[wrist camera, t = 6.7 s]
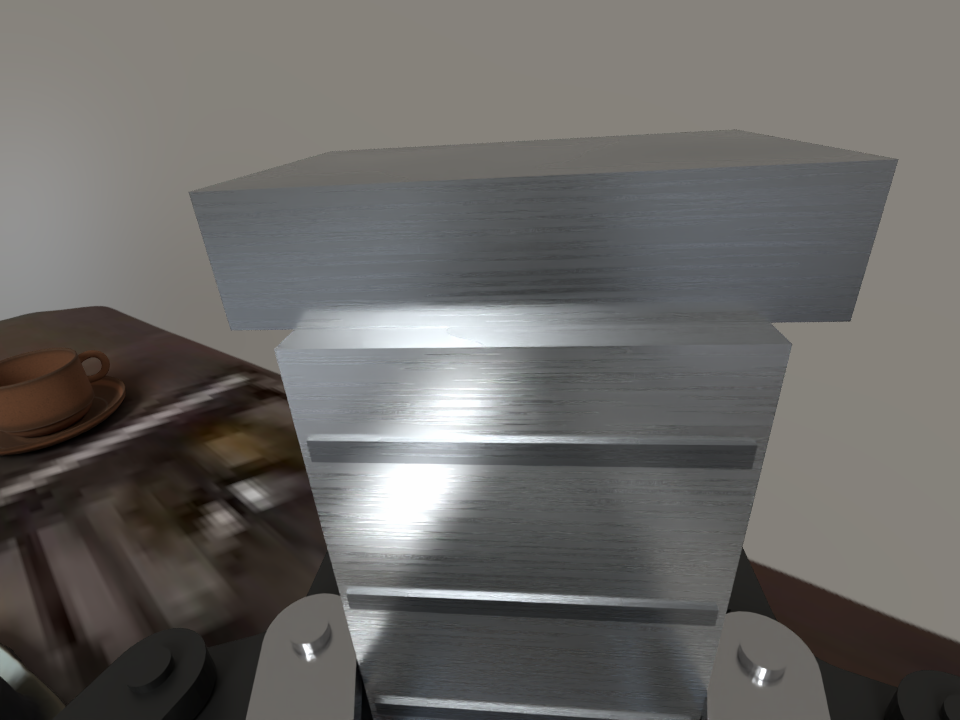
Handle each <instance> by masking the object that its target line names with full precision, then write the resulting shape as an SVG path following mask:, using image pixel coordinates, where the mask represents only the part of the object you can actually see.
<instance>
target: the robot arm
mask: <svg viewBox="0 0 960 720" xmlns="http://www.w3.org/2000/svg"><path fill="white" fill-rule="evenodd" d="M52 720H373V716H372V712H371V708H370V705H369V701H368V697H367V693H366V690H365V686H364V682H363V679H362V675H361V671H360V667H359V664H358V660H357V656H356V652H355V649H354V645H353V641H352V638H351V634H350V630H349V626H348V623H347V619H346V615H345V611H344V608H343V604H342V600H341V597H340V593H339V589H338V585H337V582H336V578H335V574H334V570H333V567H332V563H331V559H330V556H329V552H328V550H327V552H326V555H325V557H324V559H323V561H322V563H321V566H320V568H319V570H318V572H317V575H316V577H315V579H314V581H313V583H312V586H311V588H310V590H309V592H308V594H307V596H306V597H305V598H302V599H300V600H298V601H296V602H294V603H293V604H291V605H290V606H288V607H287V608H286V609H284V610H283V611H282V612H281V613H280V614H279V615H278V616H277V617H276V618H275V619H274V621H273V622H272V623H271V625H270V626H269V628H268V630H267V631H266V632H263V633H261V634H258V635H255V636H252V637H248V638H244V639H240V640H236V641H232V642H228V643H225V644H221V645H217V646H213V647H209V648H207V647H206V645H205V643H204V641H203V639H202V637H201V636H200V635H199V634H198V633H196V632H195V631H193V630H190V629H185V628H173V629H168V630H164V631H161V632H158V633H155V634H153V635H150V636H148V637H146V638H144V639H143V640H141V641H139V642H138V643H136V644H135V645H133V646H132V647H130V648H129V649H128V650H127V651H126V652H124V653H123V654H122V655H121V656H120V657H119V658H118V659H116V660H115V661H114V662H113V663H112V664H111V665H110V666H109V667H108V668H107V669H106V670H105V671H104V672H103V673H101V674H100V675H99V676H98V677H97V678H96V679H95V680H94V681H93V682H92V683H91V684H90V685H89V686H87V687H86V688H85V689H84V690H83V691H82V692H81V693H80V694H79V695H78V696H77V697H76V698H75V699H73V700H72V701H71V702H70V703H69V704H68V705H67V706H66V707H65V708H64V709H63V710H62V711H61V712H60V713H58V714H57V715H56V716H55V717H54V718H53V719H52ZM700 720H960V677H958V676H956V675H953V674H949V673H945V672H940V671H934V670H921V671H916V672H913V673H911V674H908V675H907V676H906V677H904V678H903V679H902V681H901V682H900V684H899V686H898V688H897V687H894V686H891V685H888V684H885V683H882V682H879V681H876V680H873V679H870V678H867V677H864V676H861V675H858V674H855V673H852V672H849V671H846V670H843V669H840V668H838V667H835V666H833V665H830V664H828V663H826V662H824V661H822V660H820V659H819V658H817V657H815V656H814V655H813V654H812V652H811V651H810V649H809V648H808V647H807V645H806V644H805V643H804V642H803V641H802V640H801V639H800V638H799V637H798V636H797V635H796V634H795V633H794V632H792V631H791V630H790V629H788V628H787V627H785V626H784V625H782V624H781V623H779V622H777V620H776V618H775V616H774V614H773V612H772V610H771V608H770V606H769V604H768V602H767V599H766V597H765V595H764V593H763V591H762V588H761V586H760V584H759V582H758V580H757V578H756V575H755V573H754V571H753V569H752V567H751V565H750V562H749V560H748V558H747V556H746V554H745V551H744V549H743V547H742V550H741V554H740V558H739V563H738V567H737V571H736V575H735V579H734V583H733V587H732V591H731V595H730V599H729V603H728V607H727V611H726V615H725V620H724V624H723V628H722V632H721V636H720V640H719V644H718V648H717V652H716V656H715V660H714V664H713V668H712V672H711V676H710V681H709V685H708V689H707V693H706V697H705V701H704V705H703V709H702V713H701V717H700Z"/></svg>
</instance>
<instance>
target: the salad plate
mask: <svg viewBox="0 0 960 720" xmlns="http://www.w3.org/2000/svg"><path fill="white" fill-rule="evenodd" d="M65 707H66V706H65V705H64V704H63V703H62V701H61V700H60V699H59V698H58V697H57V696H56V695H55V694H54V693H53V692H52V691H51V690H50V689H49V688H48V687H46V685H45V684H44V683H43V682H41V681H40V680H39V679H38V678H37V677H36V676H35V675H34V674H33V673H31V672H30V671H29V670H28V669H27V668H26V667H25V666H24V664H22V662H21V660H20V659H19V658H18V657H17V655H16V654H15V653H14V651H13V650H12V649H10V648H8V647H6V646H4V645H2V644H1V643H0V720H52V719H53V718H54V717H55V716H56V715H57V714H58V713H60V712H61V711H62V710H63V709H64V708H65Z"/></svg>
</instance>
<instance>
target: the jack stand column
mask: <svg viewBox="0 0 960 720" xmlns="http://www.w3.org/2000/svg"><path fill="white" fill-rule="evenodd" d="M897 162H898V159H894V158H889V157H884V156H878V155H872V154H867V153H862V152H855V151H850V150H845V149H840V148H834V147H829V146H823V145H818V144H812V143H807V142H801V141H796V140H790V139H785V138H779V137H774V136H768V135H762V134H757V133H752V132H746V131H740V130H719V131H701V132H682V133H664V134H646V135H627V136H610V137H609V136H608V137H591V138H571V139H554V140H534V141H516V142H498V143H480V144H460V145H443V146H423V147H405V148H388V149H387V148H386V149H368V150H349V151H332V152H327V153H324V154H320V155H317V156H313V157H310V158H306V159H303V160H299V161H296V162H292V163H289V164H285V165H282V166H279V167H275V168H271V169H268V170H265V171H261V172H257V173H254V174H250V175H247V176H244V177H240V178H237V179H233V180H229V181H226V182H222V183H219V184H215V185H212V186H208V187H205V188H201V189H198V190H194V191H191V192H189V195H190V198H191V201H192V205H193V208H194V211H195V214H196V218H197V221H198V224H199V228H200V231H201V234H202V237H203V241H204V244H205V247H206V250H207V254H208V257H209V260H210V264H211V267H212V270H213V273H214V277H215V280H216V283H217V286H218V290H219V293H220V296H221V300H222V303H223V306H224V309H225V313H226V316H227V319H228V322H229V326H230V329H231V330H283V329H284V330H286V329H294V330H293V331H292V332H291V333H290V334H289V335H288V336H287V337H286V338H285V339H284V340H283V341H282V342H281V343H280V344H279V345H278V346H277V347H276V348H275V349H274V350H275V354H276V358H277V362H278V365H279V369H280V373H281V377H282V380H283V384H284V388H285V392H286V395H287V399H288V403H289V406H290V410H291V414H292V418H293V421H294V425H295V429H296V433H297V436H298V440H299V444H300V447H301V451H302V455H303V459H304V462H305V466H306V470H307V474H308V477H309V481H310V485H311V488H312V492H313V496H314V500H315V503H316V507H317V511H318V515H319V518H320V522H321V526H322V529H323V533H324V537H325V541H326V544H327V548H328V552H329V556H330V559H331V563H332V567H333V570H334V574H335V578H336V582H337V585H338V589H339V593H340V597H341V600H342V604H343V608H344V611H345V615H346V619H347V623H348V626H349V630H350V634H351V638H352V641H353V645H354V649H355V652H356V656H357V660H358V664H359V667H360V671H361V675H362V679H363V682H364V686H365V690H366V693H367V697H368V701H369V705H370V708H371V712H372V716H373V720H700V717H701V713H702V709H703V705H704V701H705V697H706V693H707V689H708V685H709V681H710V676H711V672H712V668H713V664H714V660H715V656H716V652H717V648H718V644H719V640H720V636H721V632H722V628H723V624H724V620H725V615H726V611H727V607H728V603H729V599H730V595H731V591H732V587H733V583H734V579H735V575H736V571H737V567H738V563H739V558H740V554H741V550H742V546H743V542H744V538H745V534H746V530H747V526H748V521H749V518H750V514H751V510H752V506H753V501H754V497H755V493H756V489H757V485H758V481H759V477H760V472H761V469H762V465H763V461H764V457H765V453H766V448H767V445H768V440H769V436H770V432H771V428H772V424H773V420H774V416H775V412H776V408H777V404H778V400H779V396H780V392H781V387H782V383H783V379H784V375H785V371H786V367H787V363H788V359H789V355H790V351H791V347H792V343H791V342H789V341H788V340H787V339H786V338H785V337H784V336H783V335H782V334H781V333H780V332H779V331H778V330H777V329H776V328H775V327H774V326H773V325H772V324H771V323H773V322H837V321H838V322H843V321H851V318H852V314H853V311H854V307H855V304H856V301H857V297H858V294H859V291H860V287H861V284H862V280H863V277H864V274H865V270H866V267H867V263H868V260H869V256H870V253H871V250H872V247H873V243H874V240H875V237H876V233H877V230H878V227H879V223H880V220H881V216H882V213H883V210H884V206H885V203H886V200H887V196H888V193H889V189H890V186H891V183H892V179H893V176H894V173H895V169H896V166H897Z"/></svg>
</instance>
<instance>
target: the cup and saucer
mask: <svg viewBox="0 0 960 720" xmlns="http://www.w3.org/2000/svg"><path fill="white" fill-rule="evenodd" d="M91 357H96V358H98V359H99V360H100V361H101V363H102V368H101V370H100V371H99V372H98V373H97V374H95V375H92V376H87V375H86V373H85V371H84V368H83V366H82V364H81V363H82V362H83V361H84V360H86V359H88V358H91ZM109 367H110V363H109V359H108V358H107V356H106V355H105V354H104V353H102V352H100V351H96V350H91V351H86V352H83V353H81V354H79V355H77V353H76V351H74V350H72V349H69V348H49V349H42V350H36V351H32V352H27V353H23V354H20V355H16V356H13V357H10V358H7V359H4V360H1V361H0V456H4V455H14V454H21V453H26V452H31V451H35V450H39V449H43V448H46V447H50V446H53V445H56V444H59V443H61V442H64V441H67V440H69V439H71V438H74V437H76V436H78V435H80V434H82V433H84V432H86V431H88V430H90V429H92V428H93V427H95V426H97V425H98V424H100V423H101V422H103V421H104V420H105V419H107V418H108V417H109V416H110V415H111V414H113V413H114V412H115V411H116V409H117V408H118V407H119V406H120V404H121V402H122V401H123V399H124V397H125V394H126V389H125V385H124V383H123V382H122V381H121V380H119V379H117V378H114V377H109V376H105V375H106V374H107V373H108V371H109Z"/></svg>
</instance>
